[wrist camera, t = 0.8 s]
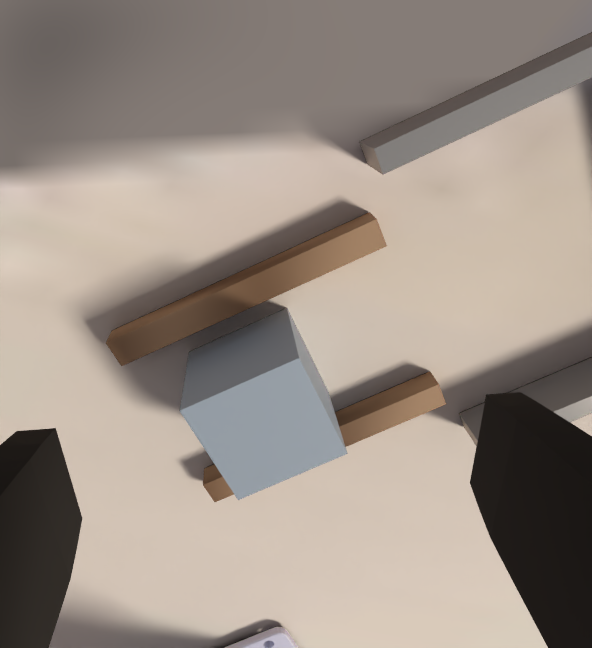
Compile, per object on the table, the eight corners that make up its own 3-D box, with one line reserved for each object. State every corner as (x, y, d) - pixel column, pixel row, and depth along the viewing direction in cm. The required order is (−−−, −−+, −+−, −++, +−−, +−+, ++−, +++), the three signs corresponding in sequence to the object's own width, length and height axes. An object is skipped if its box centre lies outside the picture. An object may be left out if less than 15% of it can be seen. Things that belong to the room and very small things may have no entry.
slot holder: (215, 485, 22) (214, 502, 22) (111, 330, 19) (105, 343, 18) (437, 390, 22) (446, 404, 21) (369, 212, 18) (376, 219, 17)
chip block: (237, 429, 22) (238, 499, 18) (189, 351, 20) (179, 411, 16) (327, 390, 21) (347, 453, 18) (286, 307, 20) (299, 358, 16)
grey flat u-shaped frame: (464, 427, 23) (484, 457, 21) (359, 141, 17) (374, 148, 16) (677, 338, 22) (717, 361, 20) (634, 11, 17) (683, 3, 15)
